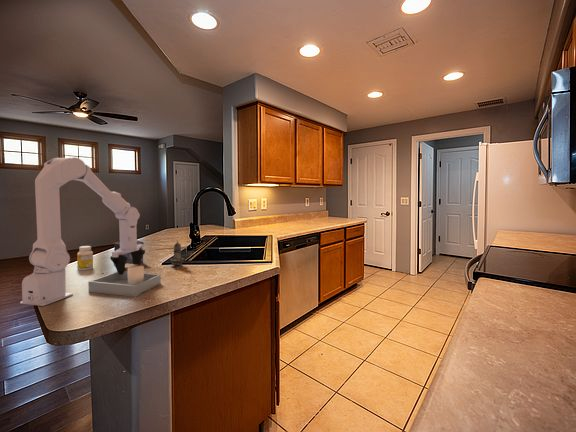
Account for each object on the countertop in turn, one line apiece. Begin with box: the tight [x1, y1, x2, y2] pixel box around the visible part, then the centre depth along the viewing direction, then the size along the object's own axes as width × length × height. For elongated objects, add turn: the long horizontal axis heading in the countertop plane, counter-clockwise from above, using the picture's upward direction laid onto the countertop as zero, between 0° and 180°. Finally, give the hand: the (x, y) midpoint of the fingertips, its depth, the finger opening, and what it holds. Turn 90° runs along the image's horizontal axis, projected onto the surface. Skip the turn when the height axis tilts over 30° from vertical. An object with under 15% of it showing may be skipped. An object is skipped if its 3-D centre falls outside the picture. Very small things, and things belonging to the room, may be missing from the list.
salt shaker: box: [169, 241, 185, 269], centre depth 123 cm, size 6×6×12 cm
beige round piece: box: [128, 265, 145, 285], centre depth 93 cm, size 5×5×7 cm
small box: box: [113, 239, 145, 264], centre depth 124 cm, size 11×6×10 cm, turn 149°
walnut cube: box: [125, 264, 138, 272], centre depth 104 cm, size 5×5×5 cm
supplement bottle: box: [76, 245, 94, 271], centre depth 113 cm, size 5×5×10 cm
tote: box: [88, 271, 162, 298], centre depth 93 cm, size 13×17×4 cm
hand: (129, 270), depth 105 cm, fingers open, 7 cm apart
